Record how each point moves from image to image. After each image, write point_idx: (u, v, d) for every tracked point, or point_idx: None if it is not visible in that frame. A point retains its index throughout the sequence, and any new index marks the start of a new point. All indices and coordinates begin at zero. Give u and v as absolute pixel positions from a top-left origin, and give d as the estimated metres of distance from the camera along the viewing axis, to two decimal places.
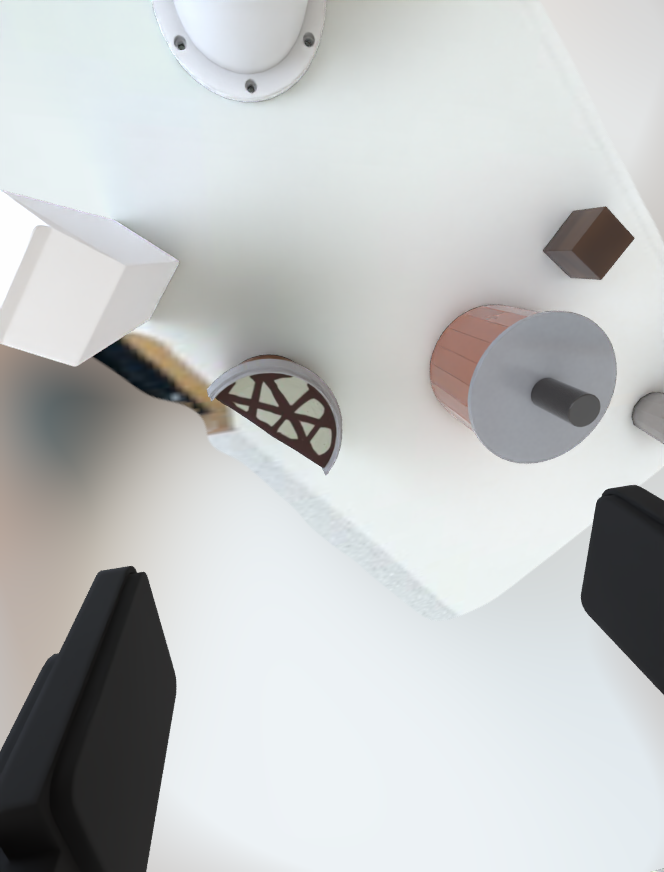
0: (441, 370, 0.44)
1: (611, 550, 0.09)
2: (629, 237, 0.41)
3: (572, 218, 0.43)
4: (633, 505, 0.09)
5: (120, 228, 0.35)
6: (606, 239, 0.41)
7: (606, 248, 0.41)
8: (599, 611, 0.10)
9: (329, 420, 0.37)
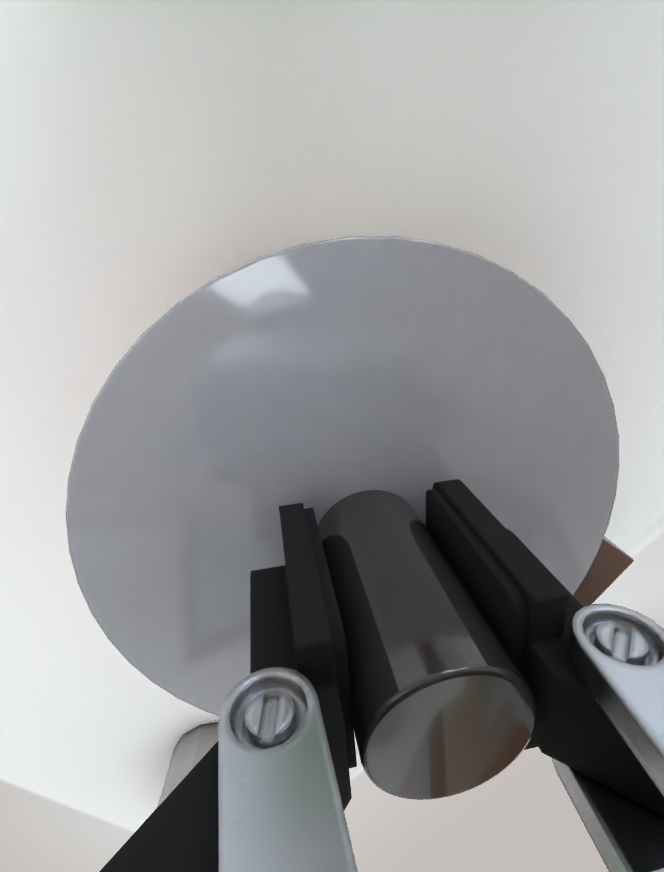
0: None
1: (435, 539, 0.10)
2: None
3: None
4: (448, 498, 0.10)
5: None
6: None
7: None
8: None
9: None
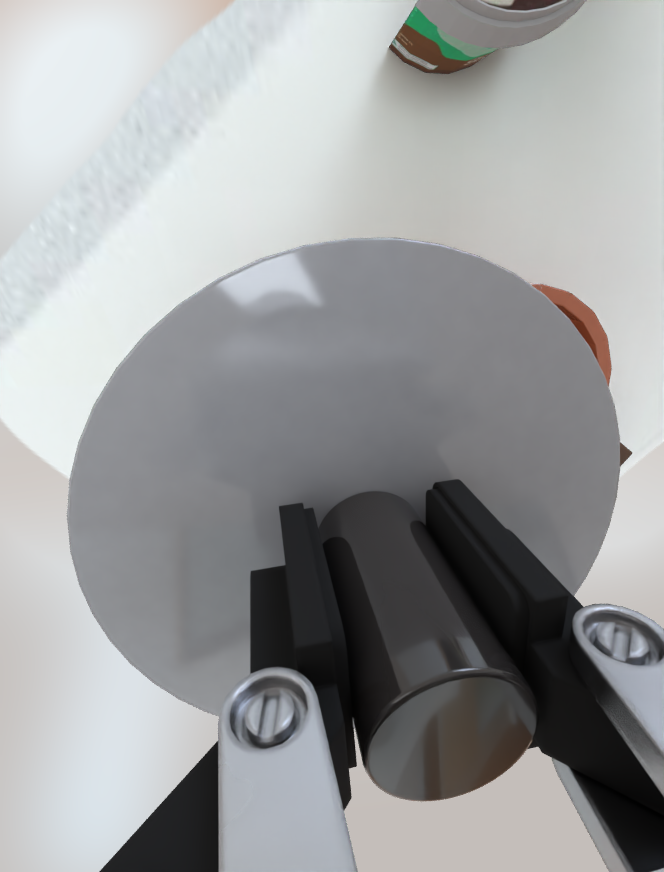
0: None
1: (435, 539, 0.10)
2: None
3: None
4: (449, 498, 0.10)
5: None
6: None
7: None
8: None
9: (528, 2, 0.20)
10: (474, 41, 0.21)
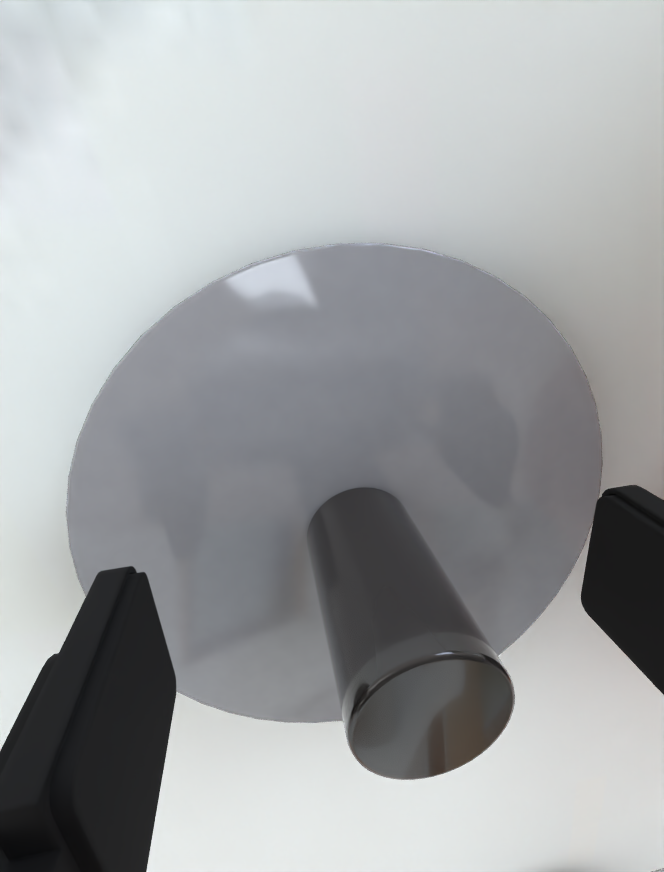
0: None
1: (611, 550, 0.09)
2: None
3: None
4: (632, 505, 0.09)
5: None
6: None
7: None
8: (599, 611, 0.10)
9: None
10: None
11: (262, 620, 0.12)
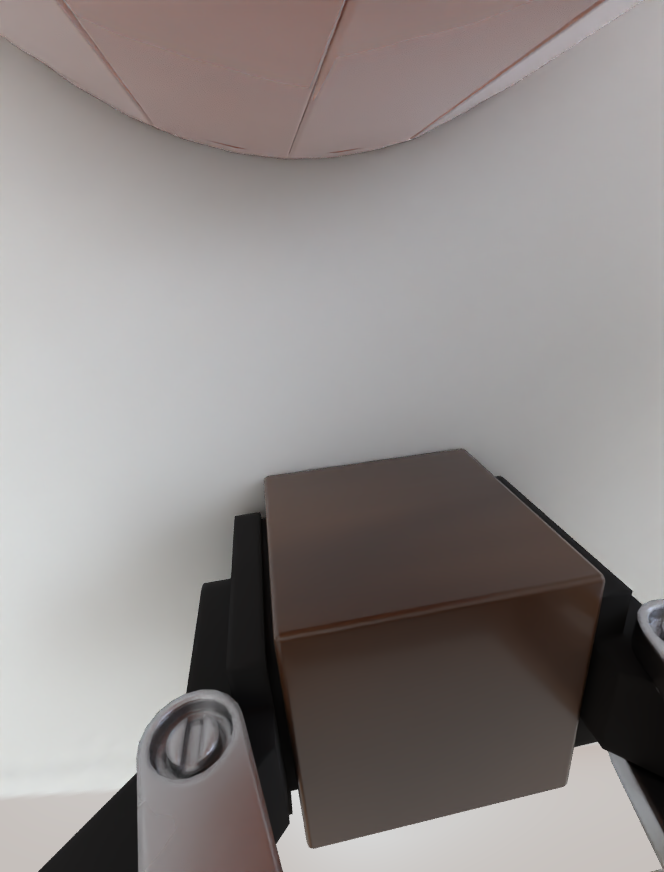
0: None
1: None
2: (339, 832, 0.07)
3: None
4: None
5: None
6: (453, 744, 0.07)
7: (408, 732, 0.06)
8: None
9: None
10: None
11: None
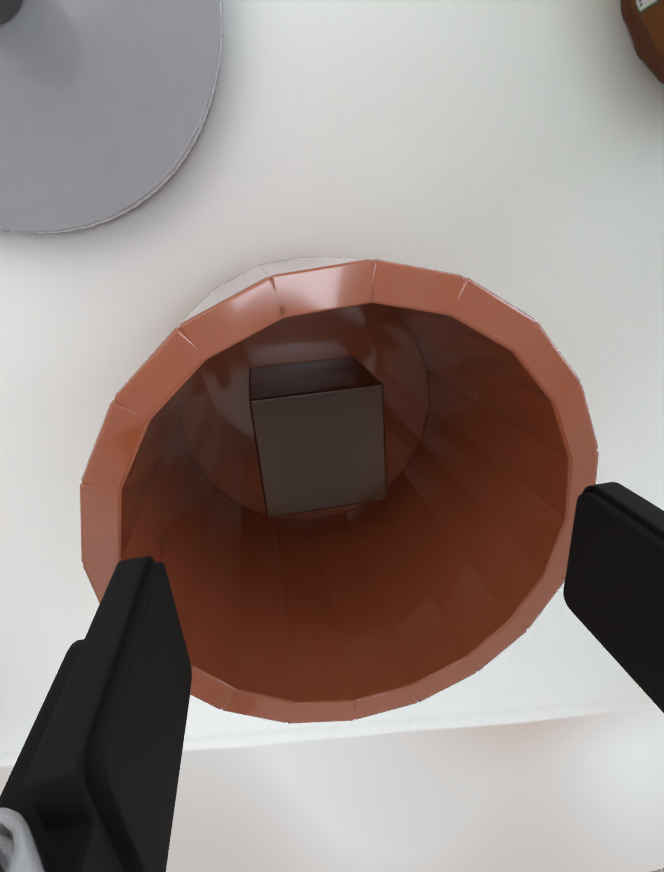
0: None
1: (591, 546, 0.09)
2: (280, 509, 0.16)
3: None
4: (611, 502, 0.09)
5: None
6: (327, 464, 0.16)
7: (307, 454, 0.15)
8: (580, 606, 0.10)
9: None
10: None
11: None
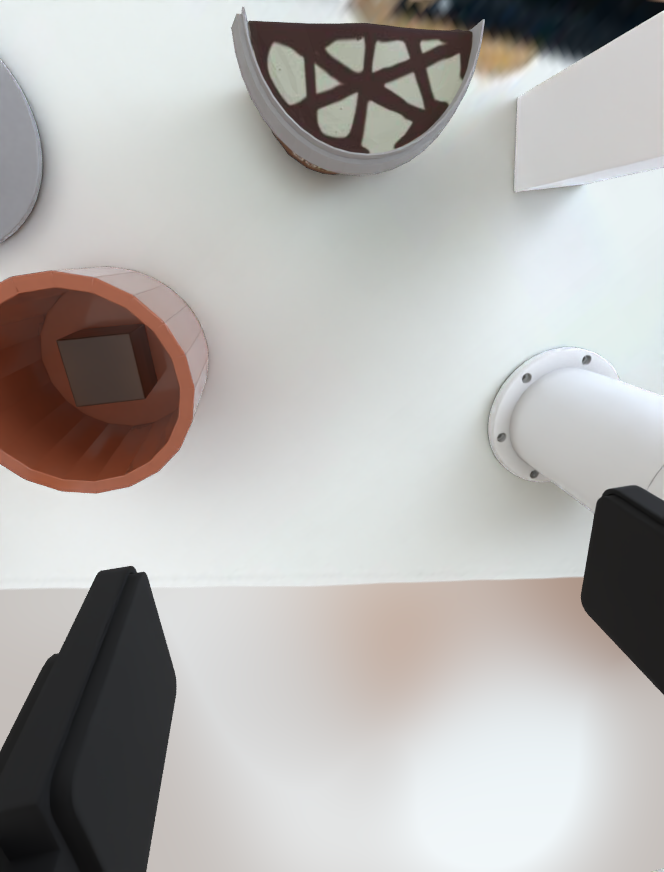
0: (180, 307, 0.30)
1: (611, 550, 0.09)
2: (83, 402, 0.30)
3: (152, 372, 0.33)
4: (632, 505, 0.09)
5: (602, 178, 0.31)
6: (105, 377, 0.29)
7: (92, 371, 0.29)
8: (598, 611, 0.10)
9: (302, 118, 0.22)
10: (256, 104, 0.23)
11: None
